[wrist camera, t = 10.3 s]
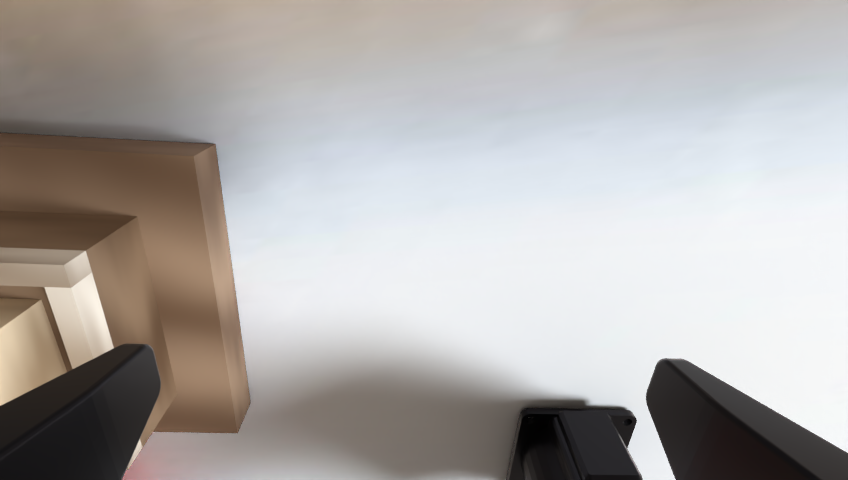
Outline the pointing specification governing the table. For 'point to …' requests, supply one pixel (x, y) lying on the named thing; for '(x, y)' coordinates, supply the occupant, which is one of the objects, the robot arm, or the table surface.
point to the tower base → (129, 264)
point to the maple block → (26, 348)
